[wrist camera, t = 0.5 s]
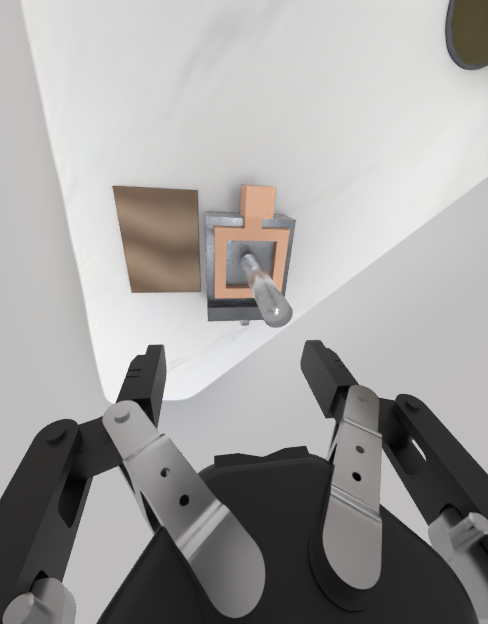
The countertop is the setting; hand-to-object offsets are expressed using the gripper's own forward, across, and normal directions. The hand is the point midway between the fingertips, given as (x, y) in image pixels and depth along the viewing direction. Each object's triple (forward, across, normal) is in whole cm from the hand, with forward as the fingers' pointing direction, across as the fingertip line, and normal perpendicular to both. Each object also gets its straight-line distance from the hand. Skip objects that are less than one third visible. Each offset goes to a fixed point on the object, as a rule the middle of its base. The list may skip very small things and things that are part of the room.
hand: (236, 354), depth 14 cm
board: (+25, +7, 0) cm, 26 cm away
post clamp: (+25, -4, +3) cm, 25 cm away
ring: (+20, -4, -1) cm, 20 cm away
